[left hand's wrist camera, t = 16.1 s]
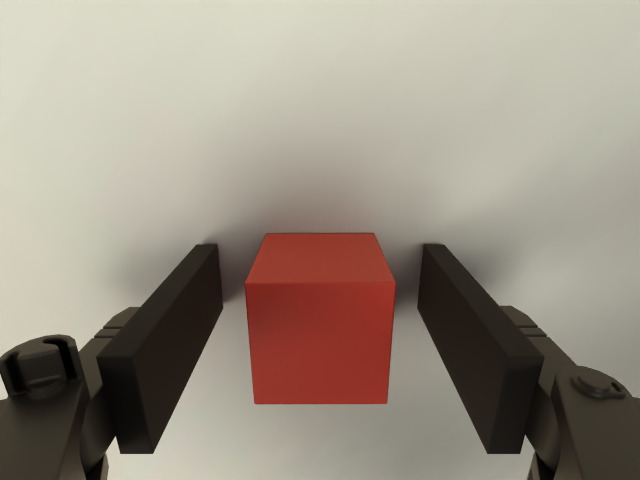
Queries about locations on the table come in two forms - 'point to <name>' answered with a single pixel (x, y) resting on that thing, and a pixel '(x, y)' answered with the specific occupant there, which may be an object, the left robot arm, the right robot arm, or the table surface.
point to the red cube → (320, 319)
